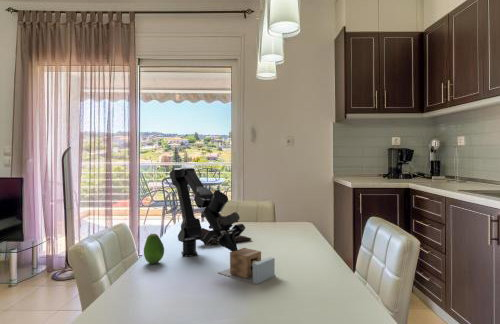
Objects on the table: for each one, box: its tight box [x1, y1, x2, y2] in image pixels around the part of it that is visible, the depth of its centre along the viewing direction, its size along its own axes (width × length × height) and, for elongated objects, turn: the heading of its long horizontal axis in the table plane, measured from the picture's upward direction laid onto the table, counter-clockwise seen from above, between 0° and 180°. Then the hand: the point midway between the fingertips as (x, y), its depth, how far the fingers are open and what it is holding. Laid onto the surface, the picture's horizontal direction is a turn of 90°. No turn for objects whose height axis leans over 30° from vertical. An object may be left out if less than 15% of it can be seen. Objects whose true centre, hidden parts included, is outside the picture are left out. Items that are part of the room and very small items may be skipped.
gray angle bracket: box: [218, 256, 276, 285], centre depth 128 cm, size 18×11×6 cm, turn 51°
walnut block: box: [229, 247, 262, 278], centre depth 128 cm, size 8×8×8 cm
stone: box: [199, 227, 252, 245], centre depth 175 cm, size 28×6×10 cm, turn 110°
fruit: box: [143, 233, 165, 265], centre depth 142 cm, size 8×8×12 cm
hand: (236, 252), depth 131 cm, fingers closed, pressing on walnut block
